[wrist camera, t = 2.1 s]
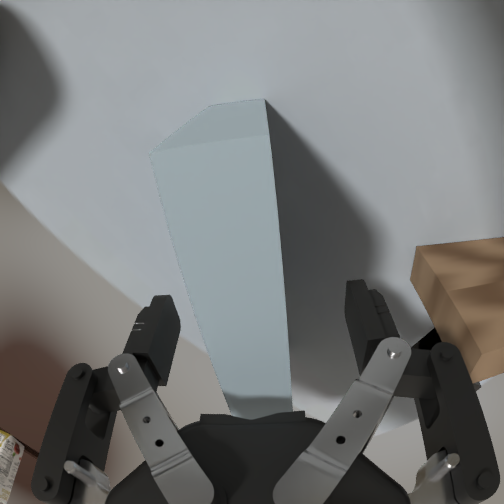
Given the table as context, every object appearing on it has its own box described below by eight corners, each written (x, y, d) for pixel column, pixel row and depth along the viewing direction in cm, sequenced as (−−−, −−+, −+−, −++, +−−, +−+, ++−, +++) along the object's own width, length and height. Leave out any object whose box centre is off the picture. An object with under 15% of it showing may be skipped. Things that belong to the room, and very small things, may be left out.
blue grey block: (209, 106, 13) (148, 153, 6) (264, 98, 12) (269, 135, 6) (254, 353, 21) (250, 459, 14) (288, 350, 21) (294, 457, 14)
